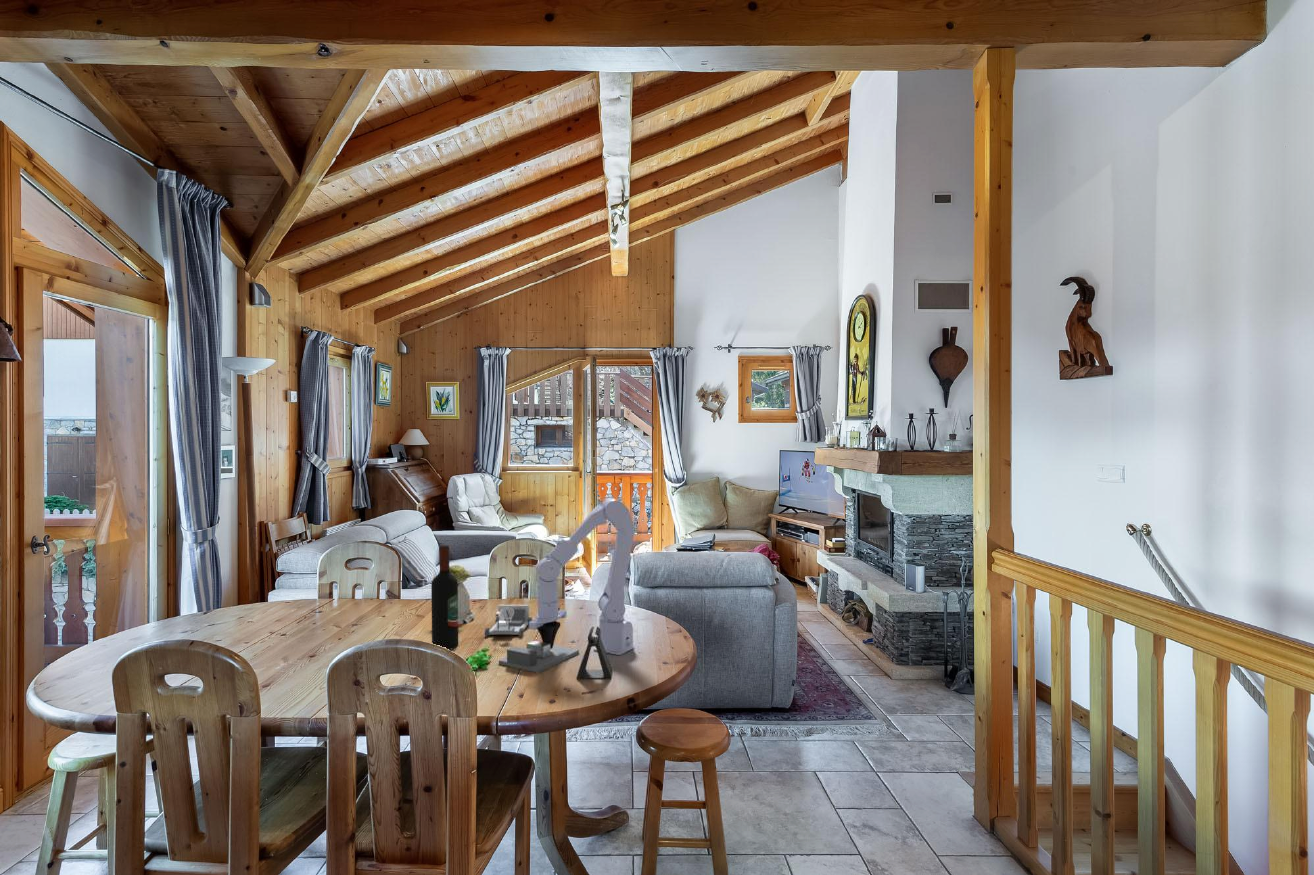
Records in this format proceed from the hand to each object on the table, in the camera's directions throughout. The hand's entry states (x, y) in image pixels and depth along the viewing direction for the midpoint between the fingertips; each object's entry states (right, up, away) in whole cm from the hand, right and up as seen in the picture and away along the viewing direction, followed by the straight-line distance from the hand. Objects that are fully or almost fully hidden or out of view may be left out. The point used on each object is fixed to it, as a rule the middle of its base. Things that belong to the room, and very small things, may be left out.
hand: (548, 648), depth 199 cm
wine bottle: (-32, -2, +8) cm, 33 cm away
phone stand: (+15, -2, -16) cm, 22 cm away
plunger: (-4, -1, -3) cm, 5 cm away
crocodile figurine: (-19, -3, -12) cm, 22 cm away
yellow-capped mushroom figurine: (-38, -2, +37) cm, 53 cm away
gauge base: (-2, -2, -3) cm, 4 cm away
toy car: (-17, -2, +23) cm, 28 cm away
